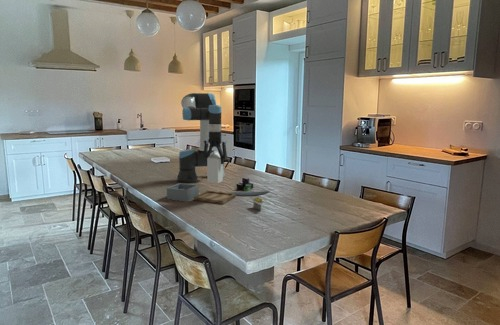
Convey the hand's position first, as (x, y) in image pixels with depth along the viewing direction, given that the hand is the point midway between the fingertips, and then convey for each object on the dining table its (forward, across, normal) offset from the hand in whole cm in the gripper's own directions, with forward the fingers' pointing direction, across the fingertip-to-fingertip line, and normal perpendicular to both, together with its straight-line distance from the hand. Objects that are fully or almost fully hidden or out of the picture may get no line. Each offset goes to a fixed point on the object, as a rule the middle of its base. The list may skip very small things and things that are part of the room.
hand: (215, 168), depth 215 cm
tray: (+19, 0, 0) cm, 19 cm away
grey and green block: (+19, +32, -9) cm, 38 cm away
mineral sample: (+19, +8, +29) cm, 36 cm away
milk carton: (+8, 0, 0) cm, 8 cm away
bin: (+19, -19, -6) cm, 27 cm away
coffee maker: (+19, -25, +60) cm, 68 cm away
